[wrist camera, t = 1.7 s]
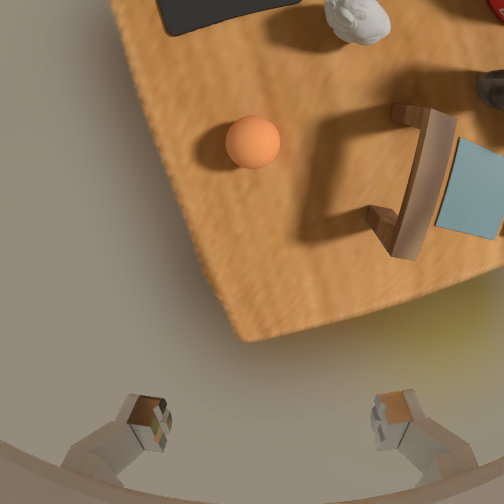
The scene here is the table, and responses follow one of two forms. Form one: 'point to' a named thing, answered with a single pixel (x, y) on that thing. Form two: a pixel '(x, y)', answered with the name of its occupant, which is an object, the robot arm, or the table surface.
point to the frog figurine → (357, 20)
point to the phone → (210, 12)
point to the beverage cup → (492, 88)
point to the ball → (252, 142)
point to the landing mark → (474, 192)
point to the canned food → (497, 8)
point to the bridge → (416, 182)
